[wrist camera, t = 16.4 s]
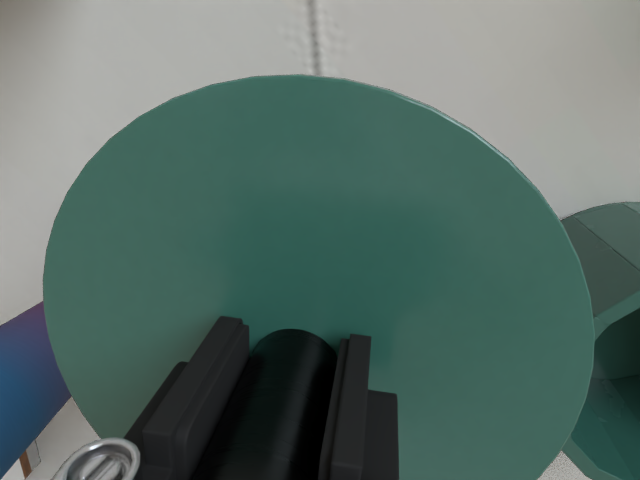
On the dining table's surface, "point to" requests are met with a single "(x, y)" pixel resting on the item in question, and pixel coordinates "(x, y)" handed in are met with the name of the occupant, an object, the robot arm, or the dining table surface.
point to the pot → (610, 342)
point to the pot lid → (323, 278)
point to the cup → (27, 384)
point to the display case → (24, 464)
